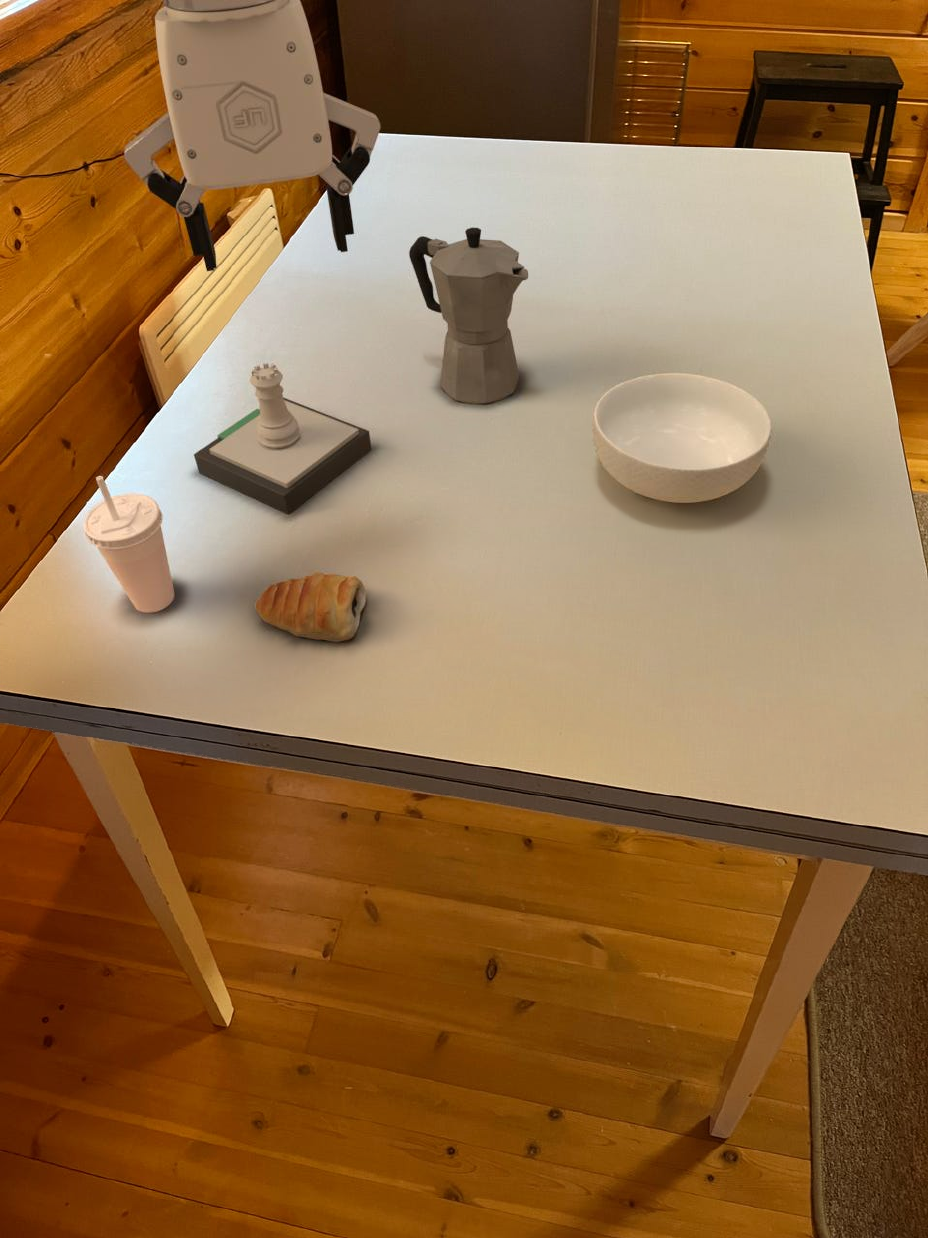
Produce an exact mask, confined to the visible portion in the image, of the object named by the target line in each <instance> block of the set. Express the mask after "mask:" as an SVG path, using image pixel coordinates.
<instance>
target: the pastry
mask: <svg viewBox="0 0 928 1238" xmlns="http://www.w3.org/2000/svg"><path fill="white" fill-rule="evenodd" d="M366 601H367V591H366V588H365V585H364V584H363V582H362V580H361V579H360V578H358V577H357V576H355V575H352V576H346V575H341V574H338V573H337V574H336V573H329V574H327V573H323V572H315V573H313V574H310V575H306V576H304V577H300V578H290V579H287V580H282V581H280V582H278V583H275V584H271V585H269V586H268V587H267V588H265V589H264V591H263V592H262V593H261V595H260V597H259V598H258V600H257V601H256V602H255V604H254V608H255V610H256V612H257V613H258V615H259V616H260V618H261V620H262V622H265V623H267V624H269V625H270V626H272V627H275V628H278V629H279V630H281V631H286V632H289V633H291V635H293V636H295V637H298V638H302V637H303V638H306V639H309V640H310V639H312V640H316V641H319V640H325V641H327V642H334V643H337V642H342V641H348V640H350V639H352V638H354V636H355V635H356V633H357V631H358V628H359V626H360V620H361V612H362V611H363V609H364V607H365V605H366Z"/></svg>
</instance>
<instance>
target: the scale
mask: <svg viewBox="0 0 928 1238" xmlns="http://www.w3.org/2000/svg"><path fill="white" fill-rule="evenodd" d="M283 399H284V402H285V404H286V407H287V409H288V411H290V412H291V414H292V415H293V416H294V417H295V419H296V420H297V422H298V427H299V429H300V435H299V437H298V439H297V440H296V441H295V443H293V444H292V445H290V446H288V447H284V448H278V449H273V448H268V447H266V446H264V445H263V444H262V443H260V442H259V440H258V433H257V431H256V429H257V423H258V422H259V421H258V420H259V417H260V408H256V409H254V410H253V411H251V412H249V414H247V415H245V416H244V417H242V418H241V419H240V420H238V421H236V422H234V423H233V424H232V425H230V426H228V428H226V429H225V430H222V431H221V432H220V433H219V434H217V438H216V439H214V440H213V441H211V442H210V443H208V444H207V445H205V446H203V447H202V448H201V449H200V450H198V451H196V452H195V453H193V457H194V460H195V464H196V467H197V470H198V473H199V474H201V475H203V476H205V477H207V478H209V479H212V480H214V481H216V482H218V483H220V484H222V485H224V486H226V487H229V488H230V489H233V490H236V491H237V492H239V493H242V494H244V495H246V496H247V497H250V498H252V499H254V500H257V501H258V502H261V503H263V504H264V505H268V506H269V507H271V508H274V509H275V510H278V511H280V512H282V513H285V514H287V515H290V514H291V513H293V512H294V511H295V510H296V509H298V508H299V507H300V506H301V505H303V504H304V503H306V502H307V501H308V500H310V499H311V498H312V497H313V496H315V494H317V493H319V491H321V490H322V489H323V488H324V487H326V486H327V485H329V484H330V483H331V482H332V481H334V480H335V479H336V478H337V477H339V476H340V475H341V474H342V473H344V472H345V471H346V470H347V469H349V468H350V467H352V465H354V464H355V463H356V462H358V461H359V460H360V459H361V458H363V457H364V456H366V454H368V453H369V452H371V451H372V443H371V437H370V436H371V435H370V431H369V430H368V429H365V428H364V427H363V428H362V427H359V426H358V425H355V424H352V423H350V422H347V421H345V420H342V419H340V418H337V417H334V416H332V415H330V414H327V413H324V412H321V411H320V410H316V409H314V408H311V407H309V406H306V405H304V404H302V403H299V402H296V401H293V400H291V399H288V398H286V397H284V396H283Z"/></svg>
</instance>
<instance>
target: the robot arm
mask: <svg viewBox="0 0 928 1238" xmlns="http://www.w3.org/2000/svg"><path fill="white" fill-rule="evenodd" d="M162 3H163V7H161V8H160V9H158V11H157V12H156V14H155V16H154V23H155V24H154V25H155V40H156V49H157V56H158V62H159V70H160V75H161V80H162V86H163V90H164V91H163V92H164V96H165V102H166V106H167V112H166V113H165V114H164V115H162V116H161V117H160V118H158V119H157V120H156V121H155V122H154V123H152V124H151V125H150V126H148V127H147V128H145V130H143V131H142V132H141V133H139V134H138V135H137V136H135V138H133V139H132V140H131V141H129V142H128V143H127V144H126V145H125V147H124V153H123V159H124V161H125V162H126V163H127V164H128V166H129V167H130V168H131V169H132V170H133V171H134V173H135V174H136V175H137V176H138V177H139V178H140V180H141V181H142V182H143V183H144V184H145V185H146V186H147V189H148V190H149V191H150V192H151V193H152V194H153V195H155V196H156V197H158V198H159V199H160V200H162V201H163V202H165V203H166V204H168V205H169V206H171V207H172V208H174V209H175V211H176V212H177V214H178V215H179V216H181V217H183V220H184V223H185V229H186V232H187V235H188V239H189V243H190V247H191V251H192V254H193V256H194V257H200V256H202V258H203V262H204V267H205V270H206V272H213V271H215V269H217V268H218V267H217V266H218V265H217V253H216V249H215V244H214V240H213V235H212V232H211V227H210V225H209V220H208V215H207V212H206V208H205V203H204V202H201V199H202V197H203V195H204V193H205V192H206V190H223V189H233V188H240V187H241V188H242V187H248V186H255V185H256V186H257V185H264V184H265V185H266V184H272V183H278V182H285V181H286V182H287V181H292V180H299V179H306V178H311V177H315V176H319V177H320V178H321V179H323V180H324V182H325V183H327V184H328V185H326V188H325V189H326V194H327V203H328V207H329V208H328V209H329V214H330V220H331V228H332V235H333V239H334V242H335V245H336V250H337V251H338V252H339V251H340V253H346V252H349V250H348V249H349V248H348V243H347V236H350V235H355V229H354V228H355V227H354V222H353V215H352V206H351V199H350V194H351V193H352V192H353V188H354V187H353V186H354V185H355V183H356V182H357V181H358V179H359V178H360V177H361V175H362V174H363V173H364V171H365V170H366V169H367V167H368V166H369V164H370V162H371V156H372V153H373V151H374V149H375V145H376V144H377V143H376V142H377V139H378V137H379V134H380V131H381V127H382V126H381V122H380V119H379V118H378V117H377V115H376V114H375V113H373V112H371V111H369V110H366V109H363V108H361V107H358V106H356V105H353V104H351V103H350V102H347V101H344V100H342V99H339V98H337V97H335V96H332V95H330V94H327V93H325V92H324V90H323V85H322V78H321V73H320V68H319V64H318V60H317V55H316V51H315V46H314V41H313V38H312V34H311V31H310V27H309V23H308V20H307V16H306V13H305V10H304V7H303V5H302V2H301V0H162ZM329 121H330V122H333V123H335V124H337V125H340V126H342V127H345V128H347V129H350V130H353V131H354V132H355V134H354V140H353V143H352V145H351V146H350V147H349V148H348V150H347V152H346V153H345V154H344V156H343V157H342V158H341V160H339V159H338V158H337V157H336V156H335V155H334V154H333V144H332V136H331V130H330V123H329ZM173 141H174V144H175V147H176V151H177V155H178V160H179V163H180V166H181V169H182V172H183V176H182V177H181V180H180V181H178V180H176V179H175V178H174V177H172V176H171V175H169V174H168V173H167V172H165V171H164V170H163V169H161V168H159V166H158V165H157V163H156V162H155V160H154V159H153V158H154V156H155V155H157V154H158V153H159V152H160V151H162V149H164V148H165V147H166V146H168V145H169V144H170V143H172V142H173Z"/></svg>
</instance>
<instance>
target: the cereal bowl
mask: <svg viewBox="0 0 928 1238" xmlns="http://www.w3.org/2000/svg"><path fill="white" fill-rule="evenodd" d="M770 417H771V416H770V415H769V413H768V411H767V410H766V408H765V407H764V405H763V404H762V403H761V402H760V401H759V400H758V399H757V398H755V396H753V395H752V394H750V393H748V392H747V391H746V390H744V389H742V388H740V387H739V386H736V385H734V384H732V383H729V382H727V381H724V380H721V379H718V378H714V377H710V376H706V375H700V374H693V373H684V372H683V373H682V372H679V373H678V372H666V373H665V372H664V373H656V374H649V375H642V376H638V377H635V378H631V379H628V380H626V381H623V382H620V383H619V384H616V385H615V386H613V387H611V388H610V389H609V390H607V391H606V392H605V393H604V394H603V395H602V396H601V398H599V400H598V402H597V403H596V406H595V408H594V412H593V419H592V420H593V421H592V434H593V446H594V447H595V452H596V455H597V458H598V459H599V462H600V464H601V465H602V466H603V468H604V469H605V470H606V472H607V473H608V474H609V475H610V476H611V478H614V480H615V481H616V482H618V483H619V484H620V485H621V486H624V487H625V488H626V489H628V490H630V491H632V492H633V493H636V494H637V495H640V496H644V497H646V498H649V499H653V500H657V501H661V502H667V503H668V502H669V503H674V504H677V503H679V504H688V503H689V504H692V503H700V502H701V503H702V502H706V501H710V500H714V499H719V498H721V497H724V496H726V495H728V494H730V493H732V492H733V491H736V490H738V489H739V488H740V487H742V486H743V485H745V483H747V482H748V481H750V480H751V478H752V477H754V475H755V473H756V472H757V471H758V470H759V467H760V466H761V465H762V463H763V461H764V459H765V456H766V454H767V452H768V449H769V446H770V440H771V438H772V432H773V431H772V430H773V429H772V428H773V427H772V421H771V418H770Z"/></svg>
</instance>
